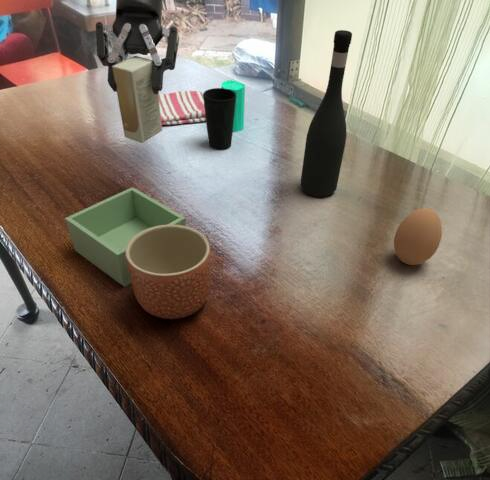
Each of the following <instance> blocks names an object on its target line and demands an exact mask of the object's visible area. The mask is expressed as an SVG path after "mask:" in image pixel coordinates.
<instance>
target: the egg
mask: <svg viewBox="0 0 490 480" xmlns="http://www.w3.org/2000/svg"><path fill="white" fill-rule="evenodd" d="M395 231H396V232H395V234H394V237H393V248H394V252H395V254H396V256H397V258H398V259H399V260H400V261H401V262H402V263H403V264H405V265H409V266H418V265H420V264H423V263H425V262H426V261H428V260H429V259H431V258H432V257H433V256H434V255H435V253H436V252H437V250H438V248H439V247H440V244H441V241H442V237H443V234H442V233H443V228H442V222H441V219H440V217H439V215H438V214H437V212H436V211H435V210H433V209H431V208H428V207H421V208H418V209H414V210H413V211H411V212H410V213H409V214H407V216H406V217H405V218H404V219H403V220H402V221H401V222H400V224H399V226H398V227H397V229H396V230H395Z"/></svg>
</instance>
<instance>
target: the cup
mask: <svg viewBox="0 0 490 480" xmlns="http://www.w3.org/2000/svg"><path fill="white" fill-rule="evenodd" d="M202 93H203V99H204V107H205V116H206V121H205V124H206V132H207V133H206V134H207V141H208V147H209V148H210V149H212V150H216V151H225V150H229V149H230V148H231V147H232V142H233V133H234V132H233V123H234V113H235V103H236V93H235V92H234V91H232V90H229V89H224V88H222V87H215V88H208V89H206V90H204V91H203V92H202Z"/></svg>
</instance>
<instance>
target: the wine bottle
mask: <svg viewBox="0 0 490 480" xmlns="http://www.w3.org/2000/svg"><path fill="white" fill-rule="evenodd" d="M352 38H353V33H352V32H351V31H350V30H346V29H340V30H336V31H335V32H334V36H333V48H332V56H331V62H330V70H329V75H328V81H327V87H326V90H325V93H324V96H323V98H322V100H321V102H320V104H319V106H318V108H317V110H316V111H315V113H314V115H313V117H312V119H311V121H310V124H309V126H308V130H307V132H306V138H305V145H304V152H303V153H304V154H303V161H302V167H301V168H302V169H301V176H300V188H301V189H302V191H303V192H304V193H306V194H307V195H309V196H312V197H318V198H320V197H321V198H323V197H328V196H331V195H332V194H334V193H335V191H336V190H337V187H338V183H339V177H340V174H341V173H340V172H341V168H342V162H343V159H344V158H343V157H344V152H345V148H346V142H347V122H346V121H347V120H346V115H345V110H344V105H343V103H344V102H343V83H344V78H345V71H346V66H347V61H348V56H349V49H350V46H351V44H352V40H353V39H352Z"/></svg>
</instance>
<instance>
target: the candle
mask: <svg viewBox="0 0 490 480" xmlns="http://www.w3.org/2000/svg"><path fill="white" fill-rule="evenodd" d="M221 88H224V89H229V90H232V91H234V92H235V93H236V103H235V113H234V123H233V132H232V133H235V132H237V133H238V132H240V131H242V130H244V127H245V95H246V94H245V93H246V85H245V83H242V82H240V81H237V80H234V77H232V79H228V80H225V81H223V82H221Z"/></svg>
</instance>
